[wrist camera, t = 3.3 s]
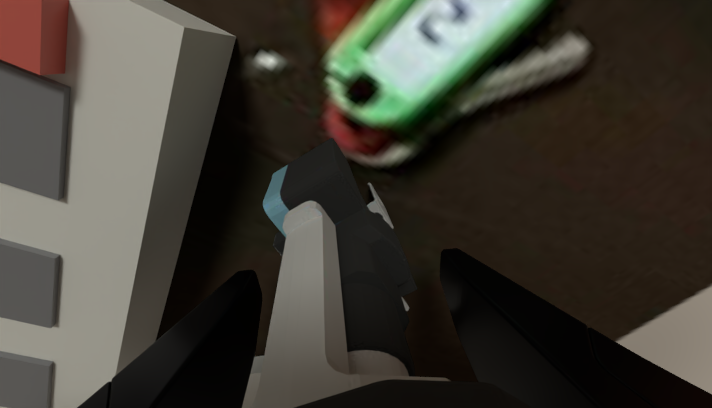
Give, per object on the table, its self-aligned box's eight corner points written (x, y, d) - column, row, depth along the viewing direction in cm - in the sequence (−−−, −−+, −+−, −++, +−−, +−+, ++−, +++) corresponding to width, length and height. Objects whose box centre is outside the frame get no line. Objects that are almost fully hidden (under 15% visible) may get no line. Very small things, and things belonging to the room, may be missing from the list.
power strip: (149, 365, 13) (91, 463, 10) (14, 337, 12) (-101, 439, 9) (236, 36, 8) (169, 24, 5) (8, -77, 6) (-294, -198, 3)
